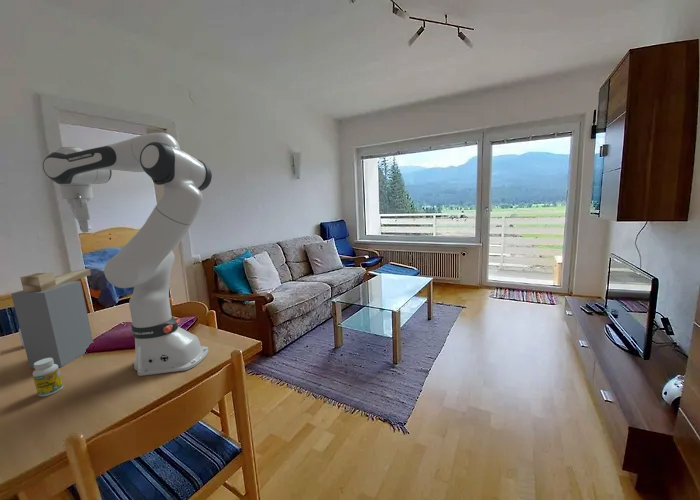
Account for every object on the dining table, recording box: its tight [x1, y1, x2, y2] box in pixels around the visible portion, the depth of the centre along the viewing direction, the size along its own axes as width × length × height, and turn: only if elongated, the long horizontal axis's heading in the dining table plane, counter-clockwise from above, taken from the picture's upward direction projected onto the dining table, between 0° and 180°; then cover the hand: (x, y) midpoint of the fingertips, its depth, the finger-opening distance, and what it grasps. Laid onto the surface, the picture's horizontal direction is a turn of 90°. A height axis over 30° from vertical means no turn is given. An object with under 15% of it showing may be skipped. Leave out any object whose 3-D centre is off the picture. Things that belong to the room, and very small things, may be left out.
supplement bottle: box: [32, 358, 64, 397], centre depth 89 cm, size 5×5×10 cm
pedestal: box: [11, 280, 94, 369], centre depth 107 cm, size 11×13×26 cm
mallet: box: [19, 268, 92, 292], centre depth 109 cm, size 6×20×5 cm, turn 178°
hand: (84, 231), depth 115 cm, fingers open, 8 cm apart
